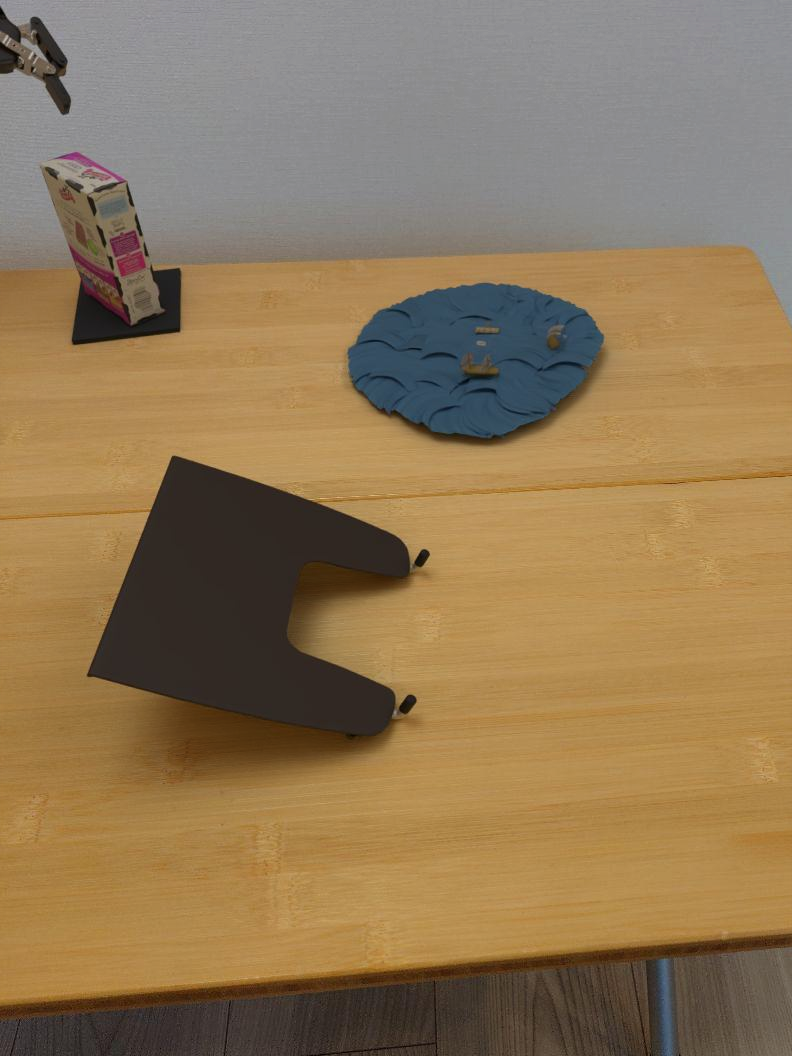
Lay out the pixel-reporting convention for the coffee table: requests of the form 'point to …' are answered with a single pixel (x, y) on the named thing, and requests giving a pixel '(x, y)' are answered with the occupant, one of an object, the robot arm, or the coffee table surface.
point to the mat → (105, 325)
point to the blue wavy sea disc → (474, 357)
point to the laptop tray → (242, 603)
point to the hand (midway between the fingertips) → (30, 121)
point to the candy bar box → (104, 236)
